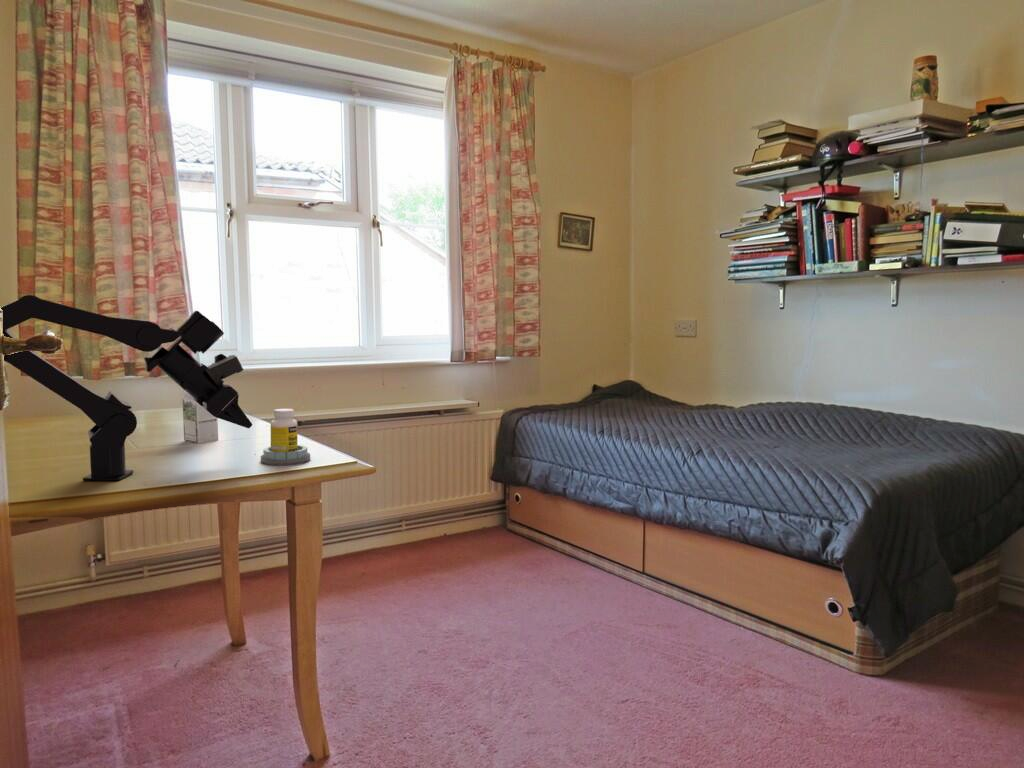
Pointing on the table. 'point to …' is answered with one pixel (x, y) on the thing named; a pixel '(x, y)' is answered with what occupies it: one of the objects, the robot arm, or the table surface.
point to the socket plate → (285, 456)
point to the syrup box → (198, 421)
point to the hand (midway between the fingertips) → (246, 423)
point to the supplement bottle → (284, 431)
